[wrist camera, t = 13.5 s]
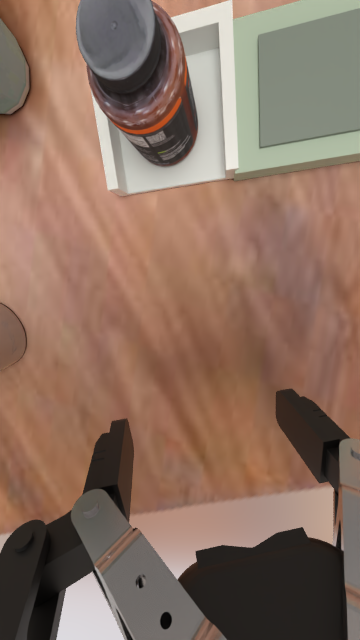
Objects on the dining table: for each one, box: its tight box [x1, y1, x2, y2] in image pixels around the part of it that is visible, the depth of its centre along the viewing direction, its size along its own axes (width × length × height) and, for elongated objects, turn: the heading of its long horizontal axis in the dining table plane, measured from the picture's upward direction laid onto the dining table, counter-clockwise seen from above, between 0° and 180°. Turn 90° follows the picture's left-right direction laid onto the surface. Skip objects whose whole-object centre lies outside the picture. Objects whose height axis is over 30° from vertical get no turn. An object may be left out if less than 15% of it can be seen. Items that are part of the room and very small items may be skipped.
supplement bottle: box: [76, 0, 198, 166], centre depth 17 cm, size 6×6×11 cm
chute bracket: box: [91, 0, 239, 196], centre depth 21 cm, size 12×10×3 cm
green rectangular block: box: [233, 0, 360, 181], centre depth 19 cm, size 12×10×3 cm
